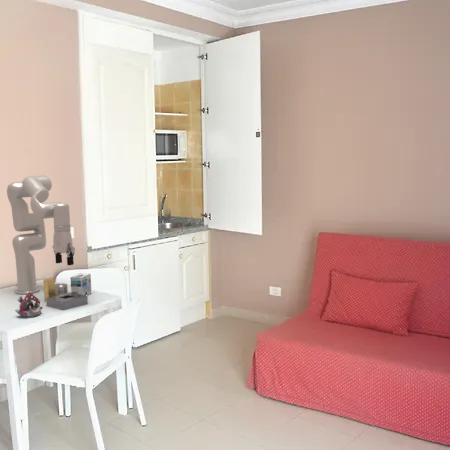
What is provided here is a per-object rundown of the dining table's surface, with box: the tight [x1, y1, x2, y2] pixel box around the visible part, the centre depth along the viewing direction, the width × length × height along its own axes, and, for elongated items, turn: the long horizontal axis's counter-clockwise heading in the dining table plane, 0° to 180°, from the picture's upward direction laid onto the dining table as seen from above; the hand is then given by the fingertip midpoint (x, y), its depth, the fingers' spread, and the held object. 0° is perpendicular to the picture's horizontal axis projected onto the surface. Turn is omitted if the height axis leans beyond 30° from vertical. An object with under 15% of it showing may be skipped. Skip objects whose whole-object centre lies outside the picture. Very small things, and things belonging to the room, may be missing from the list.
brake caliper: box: [14, 292, 44, 319], centre depth 254 cm, size 11×11×12 cm
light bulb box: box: [69, 273, 92, 296], centre depth 290 cm, size 11×7×11 cm, turn 168°
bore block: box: [45, 291, 89, 311], centre depth 271 cm, size 14×14×4 cm
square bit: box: [42, 277, 56, 302], centre depth 280 cm, size 4×4×11 cm
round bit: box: [55, 283, 69, 296], centre depth 290 cm, size 6×6×6 cm
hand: (64, 263), depth 269 cm, fingers open, 9 cm apart
